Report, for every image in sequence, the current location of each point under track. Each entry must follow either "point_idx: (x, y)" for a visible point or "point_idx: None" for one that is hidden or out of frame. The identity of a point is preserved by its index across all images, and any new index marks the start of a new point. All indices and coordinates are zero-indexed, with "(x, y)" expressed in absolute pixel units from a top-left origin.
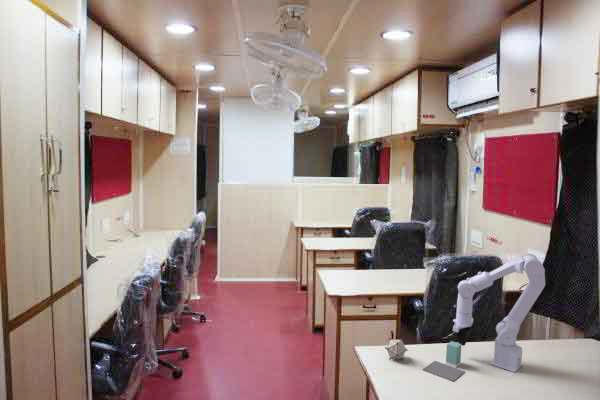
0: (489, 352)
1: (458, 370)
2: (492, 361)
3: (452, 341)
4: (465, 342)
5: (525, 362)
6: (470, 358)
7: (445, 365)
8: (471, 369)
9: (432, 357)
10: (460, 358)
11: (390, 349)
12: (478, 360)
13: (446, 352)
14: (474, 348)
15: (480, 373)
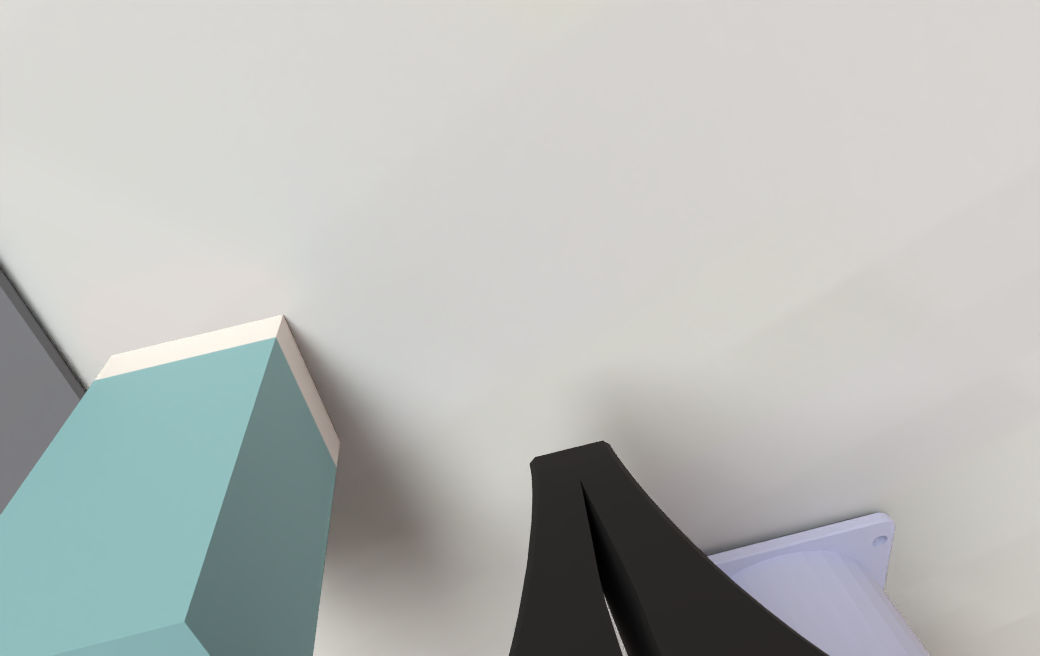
0: (990, 391)
1: None
2: (723, 571)
3: (190, 644)
4: (606, 593)
5: (955, 636)
6: (627, 395)
7: (41, 410)
8: (358, 568)
9: (18, 54)
10: (326, 509)
11: None
12: (656, 467)
13: (6, 506)
14: (1008, 220)
15: (373, 643)
